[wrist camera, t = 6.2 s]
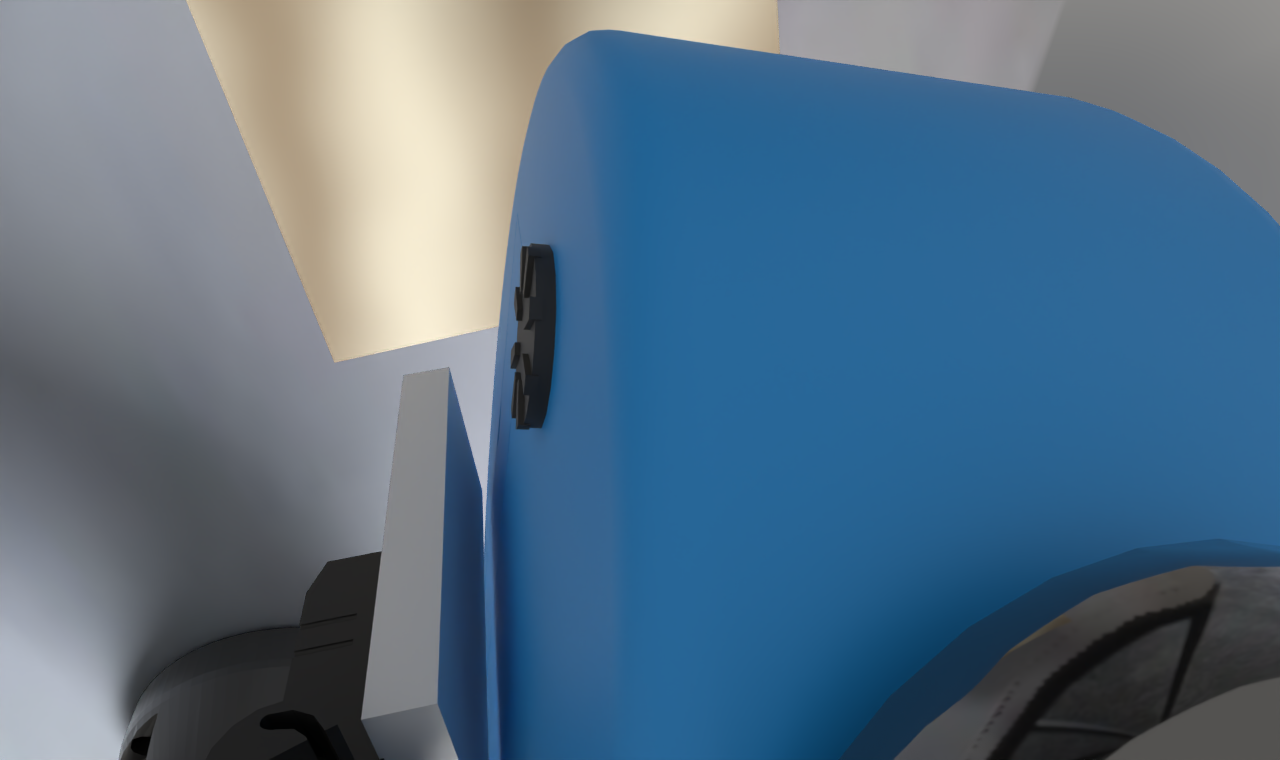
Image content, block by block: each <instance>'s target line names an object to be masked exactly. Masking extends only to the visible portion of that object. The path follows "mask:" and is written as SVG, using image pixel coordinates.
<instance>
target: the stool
mask: <svg viewBox="0 0 1280 760" xmlns="http://www.w3.org/2000/svg"><path fill="white" fill-rule="evenodd" d="M186 1H187V4H188V6H189V9H190V11H191V13H192V16H193V18H194V21H195V23H196V26H197V28H198V31H199V33H200V35H201V38H202V40H203V43H204V45H205V48H206V50H207V53H208V55H209V57H210V60H211V62H212V65H213V67H214V70H215V72H216V74H217V77H218V79H219V82H220V84H221V87H222V89H223V92H224V94H225V96H226V99H227V101H228V104H229V106H230V109H231V111H232V114H233V116H234V118H235V121H236V123H237V126H238V128H239V131H240V133H241V136H242V138H243V140H244V143H245V145H246V148H247V150H248V153H249V155H250V158H251V160H252V162H253V165H254V167H255V170H256V172H257V175H258V177H259V180H260V182H261V184H262V187H263V189H264V192H265V194H266V197H267V199H268V201H269V204H270V206H271V209H272V211H273V214H274V216H275V219H276V221H277V223H278V226H279V228H280V231H281V233H282V236H283V238H284V241H285V243H286V245H287V248H288V250H289V253H290V255H291V258H292V260H293V263H294V265H295V267H296V270H297V272H298V275H299V277H300V280H301V282H302V285H303V287H304V289H305V292H306V294H307V297H308V299H309V302H310V304H311V307H312V309H313V311H314V314H315V316H316V319H317V321H318V324H319V326H320V328H321V331H322V333H323V336H324V338H325V341H326V343H327V346H328V348H329V350H330V353H331V355H332V358H333V360H334V363H336V362H340V361H345V360H349V359H354V358H358V357H363V356H367V355H372V354H376V353H381V352H385V351H390V350H394V349H399V348H403V347H408V346H412V345H417V344H421V343H426V342H430V341H435V340H439V339H444V338H448V337H453V336H457V335H462V334H466V333H471V332H475V331H480V330H484V329H489V328H493V327H498V326H499V318H500V308H501V298H502V289H503V279H504V270H505V262H506V253H507V245H508V237H509V230H510V222H511V215H512V209H513V202H514V195H515V189H516V183H517V177H518V171H519V166H520V161H521V156H522V151H523V146H524V141H525V137H526V133H527V128H528V124H529V120H530V116H531V113H532V109H533V105H534V102H535V98H536V95H537V92H538V89H539V86H540V83H541V81H542V78H543V76H544V74H545V72H546V70H547V68H548V66H549V65H550V64H551V62H552V61H553V60H554V58H555V57H556V56H557V54H558V53H559V52H560V50H561V49H562V48H563V47H564V45H565V44H567V43H569V42H570V41H572V40H574V39H575V38H577V37H579V36H581V35H583V34H585V33H586V32H588V31H593V30H608V29H609V30H620V31H627V32H634V33H640V34H647V35H654V36H661V37H667V38H674V39H681V40H687V41H694V42H701V43H707V44H714V45H721V46H728V47H734V48H741V49H748V50H754V51H761V52H768V53H774V54H780V49H779V29H778V8H777V0H186Z"/></svg>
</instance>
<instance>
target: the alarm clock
mask: <svg viewBox="0 0 1280 760" xmlns="http://www.w3.org/2000/svg"><path fill="white" fill-rule="evenodd" d="M484 585H485V626H486V668H487V709H488V751H489V760H1280V226H1279V224H1278V223H1277V222H1276V221H1275V220H1274V219H1273V218H1272V216H1271V215H1270V214H1269V213H1268V212H1267V211H1266V210H1265V209H1264V208H1262V207H1261V206H1260V205H1259V204H1258V203H1257V202H1256V201H1254V200H1253V199H1252V198H1251V197H1250V196H1249V195H1248V194H1247V193H1245V192H1244V191H1243V190H1242V189H1241V188H1240V187H1239V186H1238V185H1236V184H1235V183H1234V182H1233V181H1232V180H1231V179H1230V178H1229V177H1227V176H1226V175H1225V174H1224V173H1223V172H1222V171H1221V170H1219V169H1218V168H1216V167H1215V166H1213V165H1212V164H1210V163H1209V162H1207V161H1206V160H1204V159H1203V158H1201V157H1200V156H1198V155H1197V154H1195V153H1194V152H1193V151H1191V150H1190V149H1188V148H1186V147H1185V146H1184V145H1182V144H1180V143H1179V142H1177V141H1176V140H1175V139H1173V138H1171V137H1169V136H1167V135H1165V134H1162V133H1160V132H1158V131H1156V130H1154V129H1152V128H1150V127H1148V126H1146V125H1144V124H1142V123H1140V122H1137V121H1135V120H1133V119H1131V118H1129V117H1126V116H1124V115H1122V114H1120V113H1118V112H1115V111H1113V110H1110V109H1106V108H1103V107H1100V106H1096V105H1093V104H1090V103H1087V102H1084V101H1080V100H1077V99H1073V98H1069V97H1062V96H1055V95H1049V94H1042V93H1036V92H1029V91H1022V90H1016V89H1009V88H1002V87H995V86H989V85H982V84H975V83H969V82H962V81H955V80H949V79H942V78H935V77H929V76H922V75H915V74H908V73H902V72H895V71H888V70H882V69H875V68H868V67H862V66H855V65H848V64H841V63H835V62H828V61H821V60H815V59H808V58H801V57H795V56H788V55H781V54H774V53H768V52H761V51H754V50H748V49H741V48H734V47H728V46H721V45H714V44H707V43H701V42H694V41H687V40H681V39H674V38H667V37H661V36H654V35H647V34H640V33H634V32H627V31H620V30H609V29H608V30H593V31H588V32H586V33H585V34H583V35H581V36H579V37H577V38H575V39H574V40H572V41H570V42H569V43H567V44H565V45H564V47H563V48H562V49H561V50H560V52H559V53H558V54H557V56H556V57H555V58H554V60H553V61H552V62H551V64H550V65H549V66H548V68H547V70H546V72H545V74H544V76H543V78H542V81H541V83H540V86H539V89H538V92H537V95H536V98H535V102H534V105H533V109H532V113H531V116H530V120H529V124H528V128H527V133H526V137H525V141H524V146H523V151H522V156H521V161H520V166H519V171H518V177H517V183H516V189H515V195H514V202H513V209H512V215H511V222H510V230H509V237H508V245H507V253H506V262H505V270H504V279H503V289H502V298H501V308H500V318H499V329H498V340H497V352H496V364H495V376H494V389H493V403H492V417H491V432H490V448H489V465H488V483H487V502H486V523H485V546H484Z"/></svg>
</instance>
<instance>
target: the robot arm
mask: <svg viewBox="0 0 1280 760" xmlns="http://www.w3.org/2000/svg"><path fill="white" fill-rule="evenodd" d="M119 760H489V751H488V709H487V668H486V626H485V585H484V543H483V502H482V488H481V485H480V481H479V477H478V473H477V470H476V466H475V462H474V458H473V455H472V451H471V447H470V444H469V440H468V436H467V432H466V429H465V425H464V421H463V417H462V414H461V410H460V406H459V402H458V399H457V395H456V391H455V388H454V384H453V380H452V376H451V373H450V369H449V367H448V368H442V369H437V370H431V371H425V372H420V373H414V374H408V375H403V383H402V391H401V399H400V407H399V415H398V423H397V431H396V439H395V448H394V456H393V464H392V472H391V480H390V488H389V496H388V505H387V513H386V521H385V529H384V537H383V545H382V551H381V552H376V553H370V554H365V555H360V556H355V557H350V558H345V559H340V560H335V561H329V562H327V564H326V565H325V567H324V568H323V570H322V571H321V572H320V574H319V575H318V577H317V578H316V580H315V581H314V583H313V584H312V585H311V587H310V588H309V590H308V591H307V593H306V597H305V602H304V607H303V611H302V616H301V620H300V628H281V629H270V630H262V631H256V632H250V633H245V634H241V635H236V636H233V637H229V638H225V639H222V640H219V641H217V642H214V643H211V644H209V645H206V646H204V647H201V648H199V649H197V650H195V651H193V652H191V653H189V654H187V655H185V656H184V657H182V658H180V659H179V660H177V661H176V662H174V663H173V664H171V665H170V666H169V667H167V668H166V669H165V670H164V671H162V672H161V673H160V674H159V675H158V676H157V677H156V678H155V679H154V680H153V681H152V682H151V683H150V684H149V686H148V687H147V688H146V690H145V691H144V693H143V694H142V696H141V697H140V699H139V701H138V703H137V705H136V708H135V710H134V713H133V716H132V718H131V721H130V724H129V726H128V729H127V732H126V734H125V737H124V740H123V743H122V746H121V750H120V755H119Z"/></svg>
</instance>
